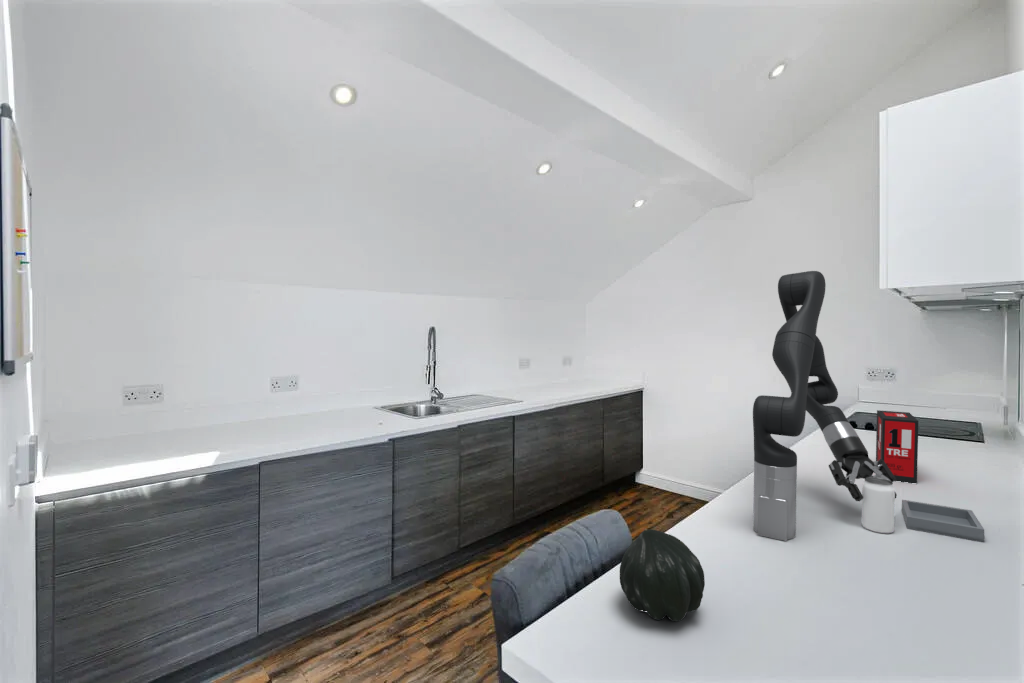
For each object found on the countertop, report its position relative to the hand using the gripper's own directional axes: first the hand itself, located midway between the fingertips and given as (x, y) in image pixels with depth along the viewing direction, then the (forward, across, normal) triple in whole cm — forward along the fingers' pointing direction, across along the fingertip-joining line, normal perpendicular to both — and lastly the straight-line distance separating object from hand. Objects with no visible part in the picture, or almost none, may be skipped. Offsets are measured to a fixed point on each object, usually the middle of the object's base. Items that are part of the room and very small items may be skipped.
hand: (876, 499), depth 122 cm
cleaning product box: (-23, +39, +34) cm, 57 cm away
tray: (+5, +17, +5) cm, 18 cm away
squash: (+26, -65, -16) cm, 72 cm away
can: (+6, 0, +5) cm, 7 cm away
